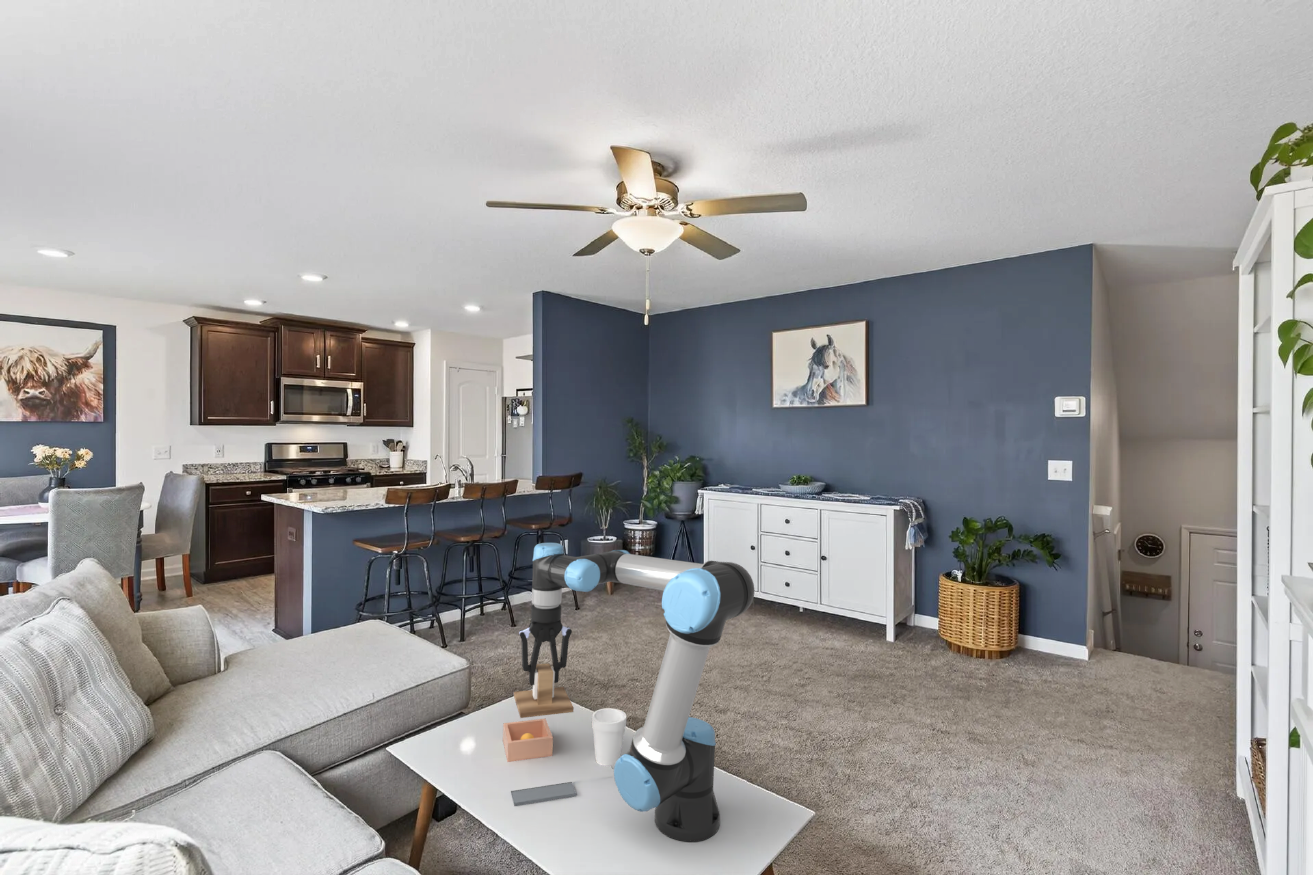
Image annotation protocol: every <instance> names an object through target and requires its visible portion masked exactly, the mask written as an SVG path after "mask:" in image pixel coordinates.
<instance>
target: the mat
mask: <svg viewBox="0 0 1313 875" xmlns="http://www.w3.org/2000/svg"><path fill="white" fill-rule="evenodd" d="M510 792H511V798H512V802H513V807H519V806H526V805H530V804H531V805H532V804H538V803H544V802H550V801H555V800H563V799H568V798H575V797H577V792H576V789H575V786H574V783H573V781H569V782H567V781H566V782H563V783H555V784H549V785H542V786H535V787H529V788H523V789H516V790H510Z"/></svg>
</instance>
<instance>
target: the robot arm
mask: <svg viewBox="0 0 1313 875" xmlns="http://www.w3.org/2000/svg"><path fill="white" fill-rule="evenodd" d="M564 553H565V552H564V545H562V544H561V543H557V542H542V543H538V544H536V545H535V546H534V548H533V557H532V580H531V581H532V583H531V584H532V586H531V587H532V588H531V589H532V590H531V604H532V605H531V608H530V609H531V610H530V612H531V613H530V623H529V625H528V627H527V628H525V629H520V630H519V631H518V634H519V636H520V639H521V667H522V669H523V672H528V673H529V674H528V683H529V685H530V686H532V690H533V698H534V699H537V689H538V672H537V670H536V665H537V664H538V660H539V655H540V651H541V647H542V643H544V642H548V643H549V648H550V649H549V650H550V655H551V663H552V667H551V668H552V670H553V691H552V697H554V688H555V684H557V683H558V682H559V677H560V676H559V675H560V674H559V673H560V670H561V669H565V668H566V667H567V662H568V652H569V644H570V642H569V640H570V637H571V635H572V633H573V632H572V628H570V626H564V625H563V624H562V605H561V604H562V596H563V594H562V593H563V587H564V588H566V589H567V588H568V589H570V590H573V591H576V592H584V593H588V592H591V591H592V590H594V589H595V588H596V587H597V585H600V584H606V583H610V582H611V583H612V582H613V583H618V584H624V585H631V586H634V587H635V586H636V587H642V588H646V589H652V590H656V591H657V590H658V591H661V592H662V597H661V608H662V610H663V611H664V613H663V617H664V619H665V621H666V622H665V626H666V629H667V630H668V632H669V636H668V637H669V638H668V640H667V644H666V648H665V651H664V654H663V658H662V662H661V665H660V668H659V672H658V675H657V679H656V682H655V686H654V689H653V693H652V697H651V699H650V700H651V701H650V704H649V708H648V711H647V715H646V716H645V721H644V725H643V726H641V727H639V728H638V729H637V730H636V731H635V733H634V734H633V738H632V741H631V744H630V748H629V750H628V751H627V753H624V754H621V756H620V758H619V759H618V760H617V761H616V763H615V767H614V769H613V776H614V782H615V785H616V787H617V790H618V793H619V795H620V796H621V798H622V800H623V801H624V802H625V803H626V804H627V805H628V806H629V807H630V808H631V809H633V810H635V811H637V812H640V813H641V812H644V813H645V812H648V811H650V810H652V809H655V810H654V824H655V826H656V828H657V829H658V830H659V831H660V832H661V833H662V834H663V835H665V836H666V837H669V838H670V839H674V840H677V841H681V842H699V841H703V840H704V841H705V840H706V839H709V838H711V837H713V836H715V834H716V833H717V832H718V830H719V828H720V820H721V819H720V818H721V816H720V809H719V806H718V802H717V799H716V795H715V791H714V780H715V779H714V778H715V776H714V775H715V774H714V773H715V752H716V746H717V745H716V744H717V743H716V731H715V729H714V727H713V726H712V725H711V724H710V723H709V722H707V721H705V720H703V719H701V718H697V717H691V716H690V714H691V710H692V708H693V704H694V701H695V698H696V694H697V691H698V688H699V685H700V681H701V678H702V675H703V672H704V668H705V665H706V661H707V658H708V655H709V652H710V649H711V647H714V646H716V645H718V644H719V642H720V641H721V637H722V634H723V632H724V627H725V625H726V622H727V621H728V620H731V619H733V618H736V617H739V616H740V615H743V614H744V613H745V612H746V611H747V610H748V609H749V608H750V606H751V605H752V603H753V600H754V596H755V584H754V581H753V578H752V576H751V574H750V573H749V571H748V570H747V569H746V568H744V567H743V566H741V565H740V564H738V563H736V562H732V561H729V562H728V561H718V560H707V561H705V562H704V563H698V562H691V561H683V560H675V559H668V558H662V557H661V558H660V557H653V556H647V555H646V556H645V555H639V554H633V553H631V552H629V551H628V550H625V549H614V550H611V551H605V552H601V553H594V554H593V553H592V554H588V555H581V556H570V555H566V554H564ZM560 633H561V635H562V638H561V648H560V657H558V650H557V642H556V639H557V636H558V635H559V634H560ZM530 634H531V635H532V637H533V638H534V641H533V648H532V653H531V657H530V662H529V649H528V646H529V645H528V639H529V638H530ZM558 684H559V683H558Z"/></svg>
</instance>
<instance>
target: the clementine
mask: <svg viewBox="0 0 1313 875" xmlns="http://www.w3.org/2000/svg"><path fill="white" fill-rule="evenodd" d="M531 738H534V736H533V735H532V734H530V733H526V734H524V735H523V736H522V737H521V739H520V740H523V739H531Z"/></svg>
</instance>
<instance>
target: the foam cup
mask: <svg viewBox="0 0 1313 875" xmlns="http://www.w3.org/2000/svg"><path fill="white" fill-rule="evenodd" d="M626 726H627V714H626V712H624V710H621V709H618V708H613V707H611V708H610V707H606V708H600V709H598V710H595V711H594V712H593V713H592V714H591V727H592V733H593V734H592V735H593V736H592V737H593V744H594V745H593V746H594V758H595V762H596V763H597V765H600V766H603V767H611V769H613V770H614V767H615V763H616V761H617V760H618V759H619V758H620V757H621V756H622V750H623V749H622V748H623V744H624V737H625V731H626Z"/></svg>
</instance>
